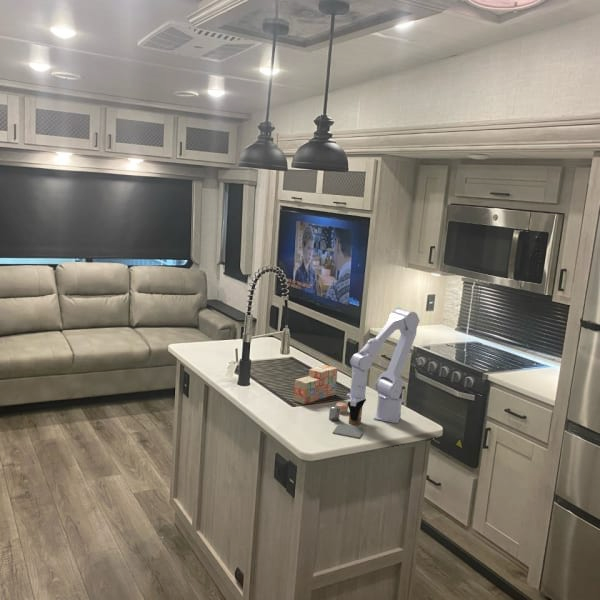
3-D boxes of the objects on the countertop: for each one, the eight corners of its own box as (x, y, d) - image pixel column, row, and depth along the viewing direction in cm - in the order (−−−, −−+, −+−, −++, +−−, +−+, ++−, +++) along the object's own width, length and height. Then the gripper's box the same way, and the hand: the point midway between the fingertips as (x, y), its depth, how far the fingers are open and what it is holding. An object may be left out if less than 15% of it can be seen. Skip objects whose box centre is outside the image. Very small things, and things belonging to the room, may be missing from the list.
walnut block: (360, 421, 232) (362, 407, 231) (358, 425, 229) (360, 410, 228) (350, 419, 234) (352, 405, 233) (348, 423, 230) (350, 408, 229)
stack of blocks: (304, 404, 247) (307, 376, 245) (292, 400, 251) (295, 372, 249) (335, 394, 263) (338, 367, 261) (324, 391, 267) (326, 364, 265)
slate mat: (365, 429, 225) (365, 428, 225) (359, 438, 216) (359, 437, 215) (339, 424, 228) (339, 423, 228) (332, 433, 218) (332, 432, 218)
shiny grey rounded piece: (340, 418, 234) (341, 406, 233) (337, 422, 230) (339, 409, 229) (330, 417, 235) (331, 404, 234) (327, 420, 231) (328, 408, 230)
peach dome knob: (348, 410, 244) (349, 403, 243) (346, 414, 239) (346, 407, 239) (337, 408, 245) (337, 401, 245) (334, 412, 241) (334, 405, 240)
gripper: (352, 377, 237) (349, 410, 239) (344, 387, 223) (340, 422, 225) (370, 380, 235) (366, 414, 237) (362, 391, 221) (359, 426, 223)
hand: (355, 418), depth 231 cm, fingers closed on walnut block, 4 cm apart
